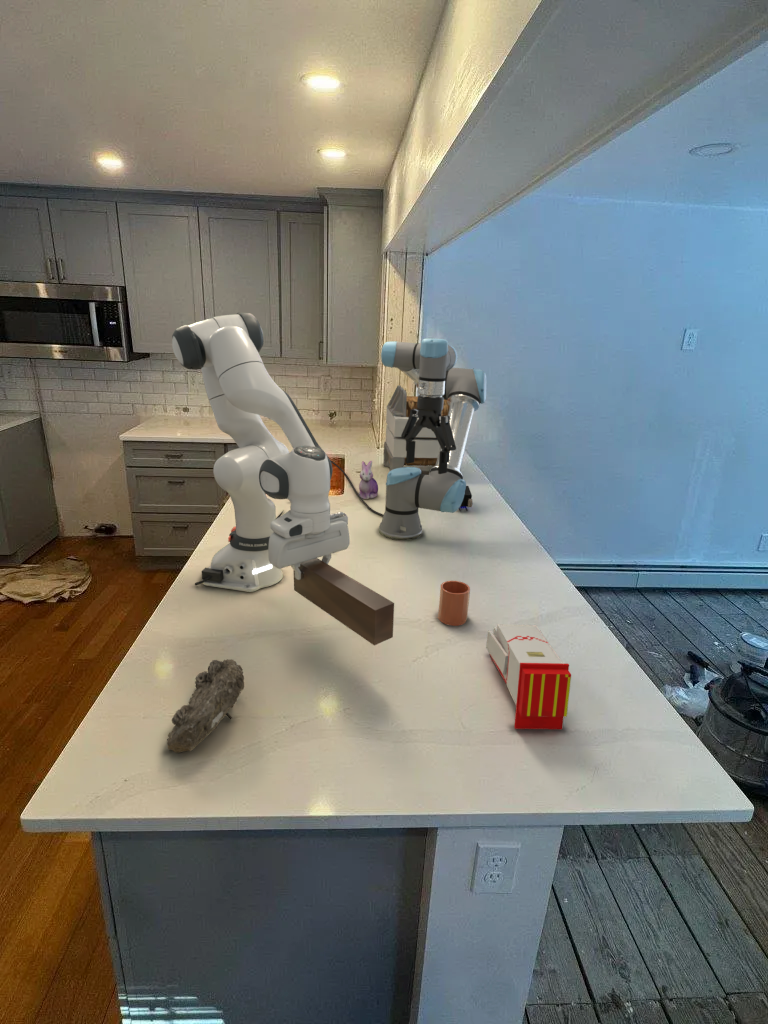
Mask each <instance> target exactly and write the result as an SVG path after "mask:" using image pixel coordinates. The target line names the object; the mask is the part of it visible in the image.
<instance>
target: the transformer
mask: <svg viewBox="0 0 768 1024" xmlns="http://www.w3.org/2000/svg"><path fill="white" fill-rule="evenodd" d="M407 394H408V393H407V390H406V389H404V388H403V387H402V385H399V384H398V385H397V386H396V388H395V390H394V392H393V394H392V395H391V398H390V400H389V402H388V404H387V405H386V413H385V414H386V415H385V423H386V428H385V438H384V442H383V466H384V467H388V468H389V472H390V471H391V470H393V469H397V468H402V467H405V466H406V467H417V466H418V467H434V466H436V462H437V458H438V453H439V449H440V444H439V442H438V440H437V438H436V436H435V434H434V432H433V431H432V430H431V429H428V428H422V430H421V431H420V432H419V433H418V435H417V436H416V437H415V438H414V440H412V441H416V442H415V457H414V462H413V463H406V455H407V451H406V441H405V439H404V438H402V437H401V435H402V432H403V430H404V428H405V426H406V423H407V421H408V419H409V416H410V410H411V409H418V408H417V398H418V396H419V395H418V396H415V395H414V396H413V395H412V396H411V395H407ZM449 408H450V406H449V405H448V403H447V400H444V404H443V409H442V411H441V416H448V412H449ZM418 419H419V418H418ZM418 419H417V421H418ZM417 421H416V422H417ZM414 426H415V425H414ZM460 472H461V473H462V468H461V469H460Z"/></svg>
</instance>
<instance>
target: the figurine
mask: <svg viewBox="0 0 768 1024" xmlns="http://www.w3.org/2000/svg"><path fill="white" fill-rule="evenodd" d="M372 466H373V460H369V461H368V463H367V464H366V462H365V461H364V460H362V461H361V471H360V472H359V478H360V482H359V484H358V490H359V492H358V494H359V496H360V497H361V498H362V499H363V500H369V499H374V498H377V497H378V493H379V485H378V481H377V480H376V478H374V473H373V471H372Z"/></svg>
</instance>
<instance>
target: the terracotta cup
mask: <svg viewBox="0 0 768 1024" xmlns="http://www.w3.org/2000/svg"><path fill="white" fill-rule="evenodd" d="M470 594H471V587H470V586H469V585H468V584H467V583H465V582H463V581H459V580H446V581H444V582H442V583H441V584H440V588H439V599H438V609H437V610H438V612H437V619H438V621H439V622H441V623H442V624H445V625H446V626H452V627H456V626H457V627H459V626H462V625H464V624H466V623H467V620H468V613H469V606H470V605H469V604H470Z"/></svg>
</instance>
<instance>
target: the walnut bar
mask: <svg viewBox="0 0 768 1024" xmlns="http://www.w3.org/2000/svg"><path fill="white" fill-rule="evenodd" d="M321 560H322V559H320V558H319V557H318V558H315V559H311V560H308V561H305V562H301V563H300V567H298V568H299V569H300V570H302V571H303V572H304V578H303V579H300V580H297V579H296V578H295V571H294V570H293V591H294V592H295V593H297V594H298V595H301V596H302V597H303V598H304V599H306V600H308V601H309V602H311V603H312V604H313V605H315V606H316V607H317V608H319V609H320V610H322V611H323V612H325V613H326V614H328V615H329V616H330V617H331V618H333V619H334V620H337V621H338V622H339V623H340V624H342V625H344V626H345V627H347V628H348V629H349V630H351V631H352V632H354V633H355V634H357V635H359V636H360V637H361V638H362V639H364V640H365V641H367V642H368V643H370V644H371V645H373V646H376V645H379V644H381V643H383V642H386V641H388V640H390V639H392V638H394V619H395V617H394V616H395V602H394V601H392V600H390V599H389V598H386V597H385V596H383V595H382V594H380V593H378V592H376V591H375V590H373V589H372V588H369V587H367V586H366V585H364V584H363V583H361V582H359V581H358V580H356V579H354V578H353V577H351V576H349V575H347V574H345V573H344V572H342V571H341V570H339V569H337V568H335V567H333V566H332V565H330V564H329V563H328V564H326V563H325V562H323V561H321Z"/></svg>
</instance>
